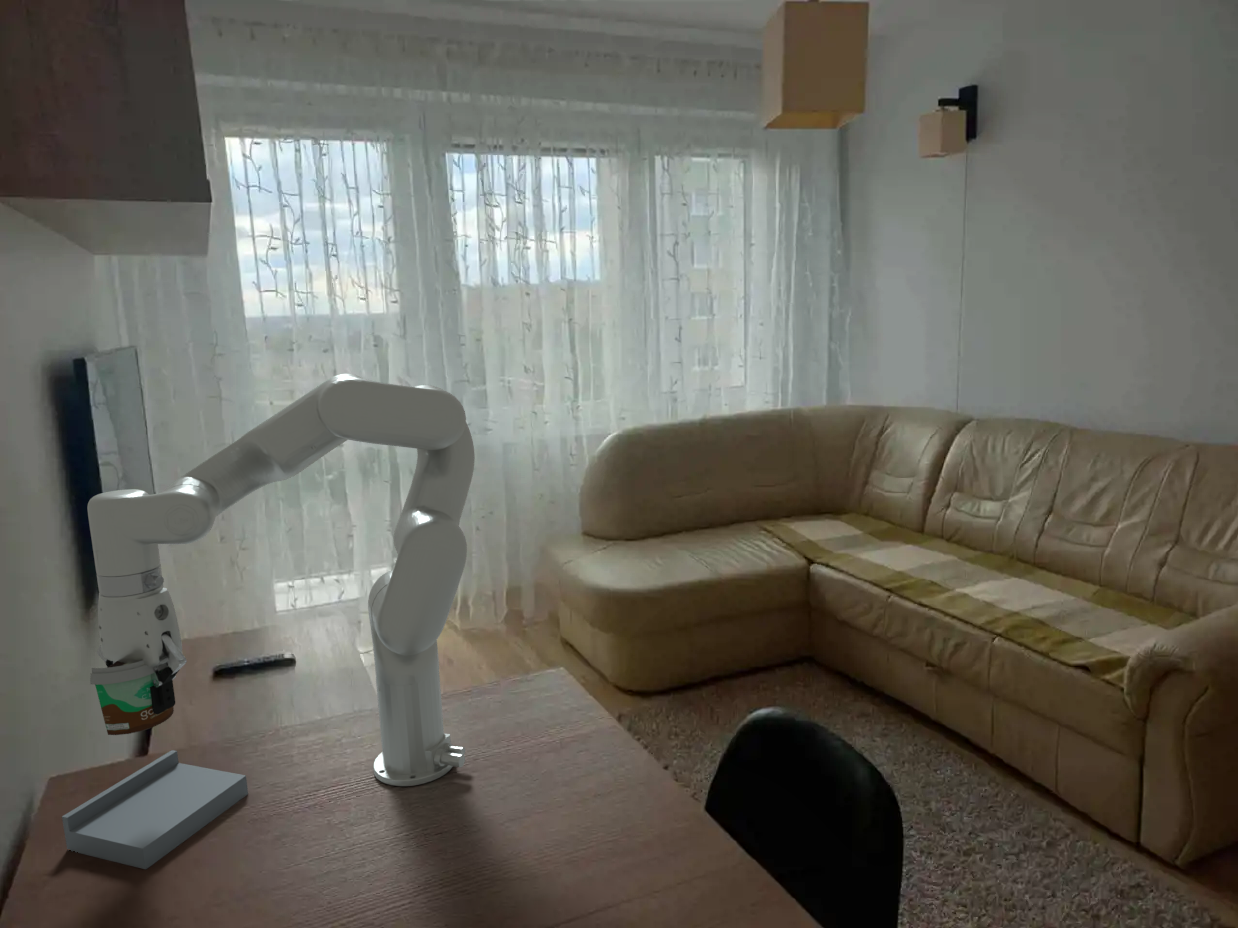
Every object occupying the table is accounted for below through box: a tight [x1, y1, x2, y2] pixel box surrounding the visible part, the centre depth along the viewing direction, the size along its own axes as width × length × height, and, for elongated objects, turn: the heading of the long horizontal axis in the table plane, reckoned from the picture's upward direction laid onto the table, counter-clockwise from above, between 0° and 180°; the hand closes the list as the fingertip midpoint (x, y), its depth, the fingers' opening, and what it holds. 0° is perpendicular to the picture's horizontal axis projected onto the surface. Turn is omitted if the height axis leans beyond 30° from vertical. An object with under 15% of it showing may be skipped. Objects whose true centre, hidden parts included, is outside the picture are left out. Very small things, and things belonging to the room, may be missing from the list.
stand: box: [61, 749, 249, 870], centre depth 119 cm, size 14×18×5 cm
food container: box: [89, 653, 175, 736], centre depth 115 cm, size 12×6×10 cm, turn 168°
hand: (147, 705), depth 116 cm, fingers closed on food container, 5 cm apart
